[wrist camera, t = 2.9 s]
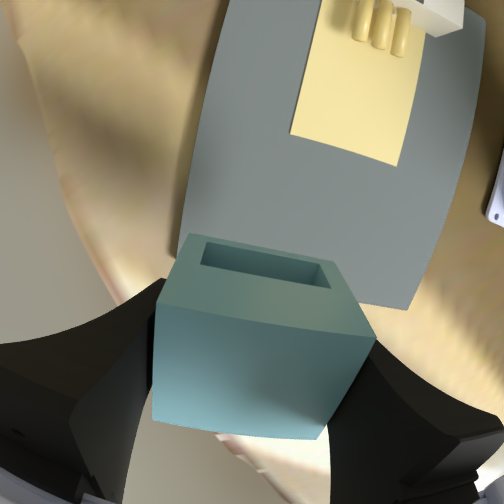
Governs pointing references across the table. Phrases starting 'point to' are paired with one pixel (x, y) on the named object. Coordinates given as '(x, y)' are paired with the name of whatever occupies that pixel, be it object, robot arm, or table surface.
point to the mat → (334, 140)
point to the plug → (254, 341)
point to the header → (406, 20)
